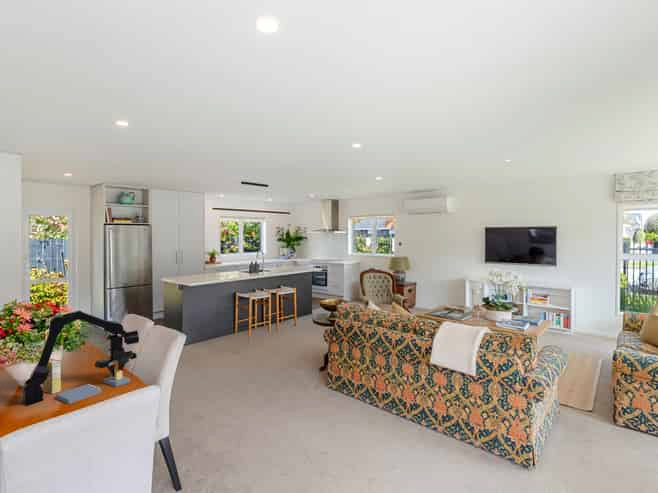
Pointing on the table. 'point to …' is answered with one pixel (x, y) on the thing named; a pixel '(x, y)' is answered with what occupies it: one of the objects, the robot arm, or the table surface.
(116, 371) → the stub
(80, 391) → the blue-grey flat slab
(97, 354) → the table surface
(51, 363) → the candy box
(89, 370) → the table surface
